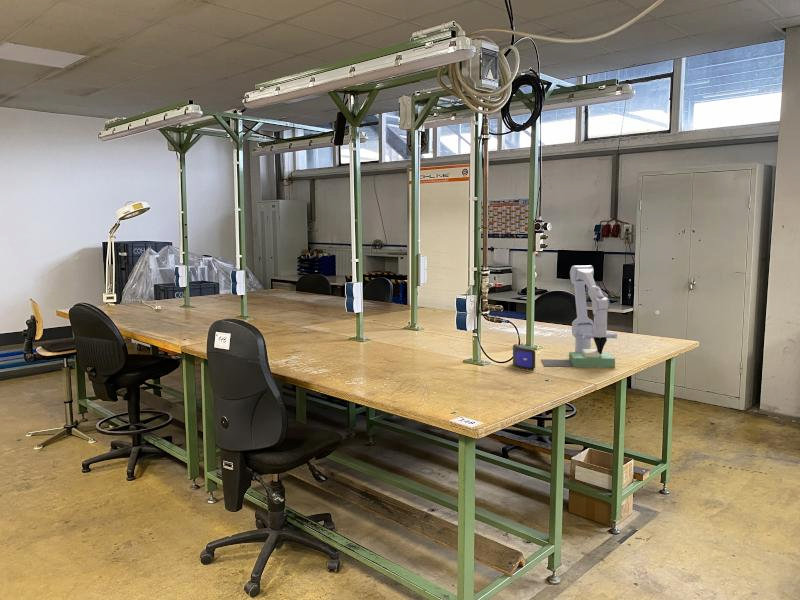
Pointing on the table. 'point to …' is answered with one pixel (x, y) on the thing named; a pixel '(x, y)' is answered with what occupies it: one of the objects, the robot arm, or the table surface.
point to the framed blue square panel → (523, 357)
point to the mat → (556, 363)
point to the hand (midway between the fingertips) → (599, 353)
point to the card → (590, 352)
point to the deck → (591, 360)
